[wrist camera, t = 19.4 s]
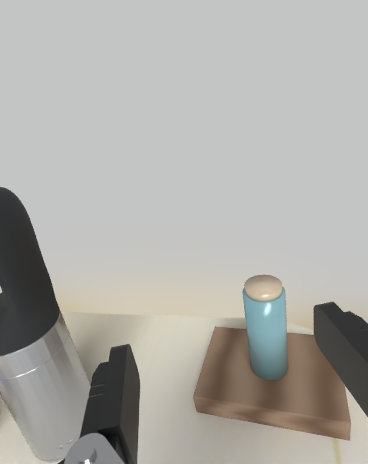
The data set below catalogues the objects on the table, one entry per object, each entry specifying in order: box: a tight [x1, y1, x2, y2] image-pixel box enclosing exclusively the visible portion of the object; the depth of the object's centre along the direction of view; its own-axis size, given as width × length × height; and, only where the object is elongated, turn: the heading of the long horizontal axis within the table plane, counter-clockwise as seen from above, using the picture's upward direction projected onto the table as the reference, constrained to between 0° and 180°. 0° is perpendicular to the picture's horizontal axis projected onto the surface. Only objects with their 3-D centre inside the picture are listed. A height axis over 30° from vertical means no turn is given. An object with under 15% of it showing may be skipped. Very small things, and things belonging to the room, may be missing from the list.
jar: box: [243, 275, 288, 380], centre depth 39 cm, size 5×5×13 cm
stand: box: [194, 327, 351, 440], centre depth 42 cm, size 18×13×3 cm
